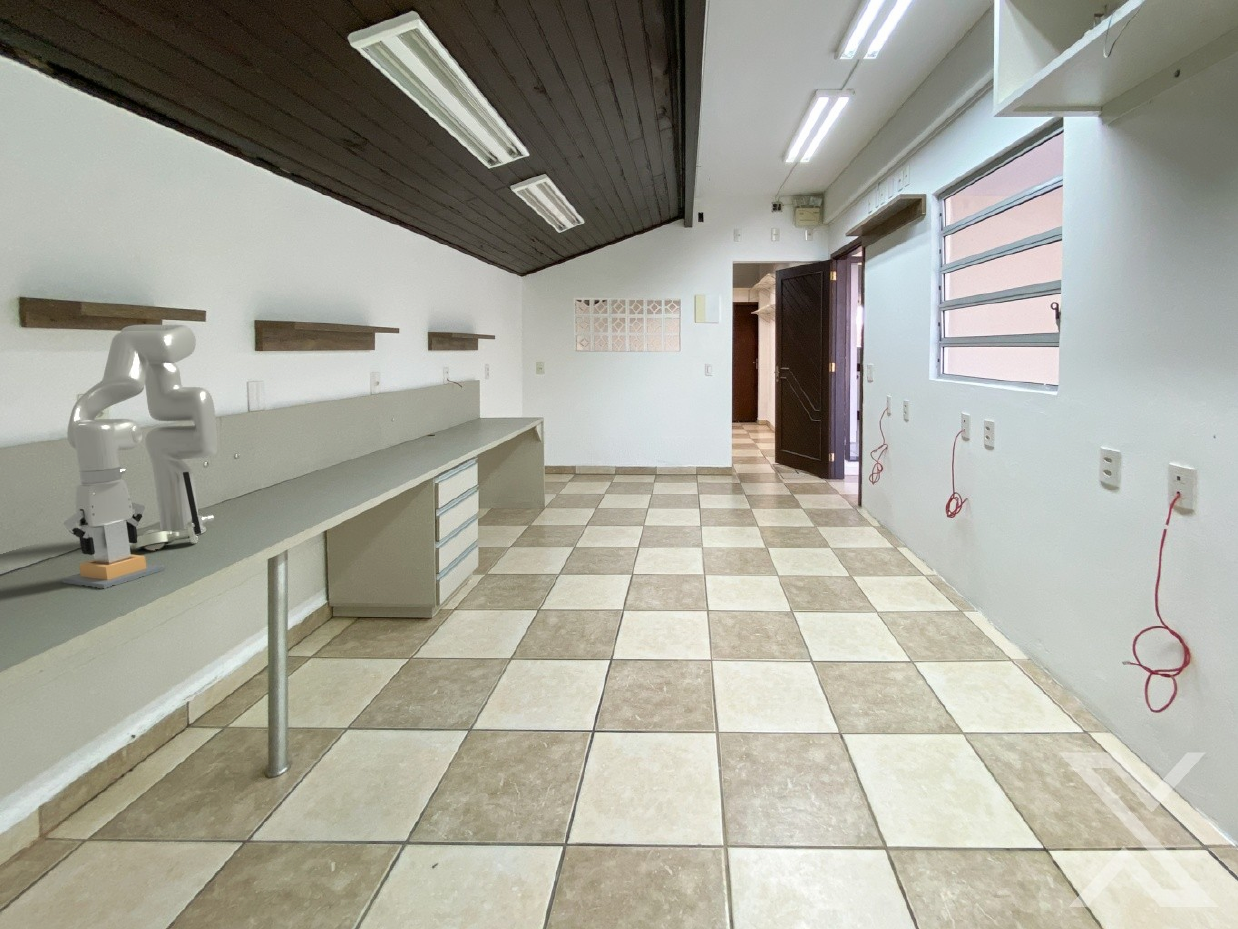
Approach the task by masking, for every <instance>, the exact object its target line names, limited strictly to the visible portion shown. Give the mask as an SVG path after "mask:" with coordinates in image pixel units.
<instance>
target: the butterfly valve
mask: <svg viewBox="0 0 1238 929" xmlns="http://www.w3.org/2000/svg"><path fill="white" fill-rule="evenodd" d="M183 477H184V482H185V487H186V492H187V496H188V501H189V506H190V511H191V516H192V519H191V521H188V522H187V524H186V525H185V527H186V528H188V529H183V530H178V531H173V532H172V531H160V530H161V529H155V528H154V529H150V530H147V531H145V532H144V534H141V535H137V543H129V546H130V550H134V549H135V550H144V549H145V550H148V551H156V550H155V549H158V550H161V549H162V548H163V547H164V546H166V545H170V544H171V543H174V542H175V541H178V540H183V539H187V538H189V539H188V541H189V542H190V543H191V545H194V544H198V543H197V542H198V541H199V537H198V536H199V535H202V534H201V529H200V524H199V519H198V515H199V513H198V514H197V509H196V505H195V500H194V495H193V490H192V485H191V480H190V475H189V472H183ZM197 534H199V535H197Z"/></svg>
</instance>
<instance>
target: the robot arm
mask: <svg viewBox="0 0 1238 929" xmlns="http://www.w3.org/2000/svg"><path fill="white" fill-rule="evenodd" d="M196 341H197V340H196V335H195V333H194V331H193V330H192V329H191V328H190V327H189V326H187V325H183V324H135V325H134V324H133V325H128V326H124V327H123V328H122V329H121V330H120V332H118V333H116V334H115V335H114V336H113V338H112V340H111V343H110V348H109V351H108V355H107V359H106V363H105V364H106V365H105V367H104V368H105V369H104V371H103V375H102V376H103V377H102V379H101V380H100V381H99V382H98V383H96V384H95V385H93V386H92V387H91V388H90V389H88V390H87V391H86V392H84V393H83V395H82V396H80V397H79V398H78V399H77V401H76V402H75V403H74V405H73V407H72V409H71V412H70V416H69V421H68V425H67V432H66V434H67V440H68V443H69V445H70V446H71V447H72V449H74V450H75V452H76V458H77V465H78V471H79V472H78V474H79V479H80V480H79V481H80V484H77V485H76V489H75V502H74V503H75V513H74V514H73V515H71V516H70V517H69V518H67V520H64V522H63V525H64V526H65V528H66V529H67V530H68V531H69V533H71V534H73V535H74V536H76V538H78V539H79V545H80V550H81V551H82V554H83V555H89V556H93V554H94V553H95V549H94V542H93V538H92V537H91V533H92V532H93V530H94V529H95V528H98V527H101V526H103V525H107V524H112V523H116V522H120V521H126V524H127V532H128V539H129V543H137V536H138V531H137V527H138V526H139V524H140V521H141V519H142V518H143V514H144V511H145V508H146V507H145V505H143V504H139V503H135V502H133V501H132V500H131V495H130V492H129V489H128V486H127V483H126V481H125V479H122V474H125V473H126V469H125V467H121V466H120V458H119V452H118V451H128V450H129V451H130V450H132V449H135V448H137V447H138V446H139V445H140V444H141V442H142V441H143V436H144V434H143V433H144V432H143V429H142V427H141V425H140V424H139V423H138V422H136V421H135V420H132V419H129V418H111V419H110V418H105V419H104V418H100V419H96V418H97V416H98V415H99V414H100V413H102V412H103V411H104V410H106V409H108V408H110V407H111V406H114V405H116V404H117V405H118V404H119V403H121V402H124V401H128V400H129V399H132V398H134V397H136V396H138V395H141V393H142V392H143V391H144V390H145V395H146V403H147V409H148V412H149V415H150V417H151V418H152V419H153V420H155V421H159V422H184V421H185V422H187V421H188V422H189V421H191V422H193V423H194V425H165V426H157V427H155V428H152V429H150V430H149V431H148V432H147V433H146V434H145V437H144V438H145V439H144V441H145V442H144V443H145V447H146V450H147V453H148V455H149V459H150V463H151V467H152V468H151V469H152V473H153V479H154V487H155V494H156V503H157V511H158V519H159V527H160V529H159V530H160V531H172V532H173V531H178V530H183V529H188V528H186V527H185V525H186V524H187V522H188V521H191V519H192V516H191V511H190V506H189V501H188V496H187V492H186V487H185V482H184V477H183V472H189V475H190V480H191V485H192V490H193V495H194V500H195V505H196V509H197V514H198V519H199V524H200V529H201V534H197V535H196V536H199V535H202V534H204V533H206V531H207V526H205V524H206V523H210V522H213V521H214V520H215V516H214V515H213V514H208V515H204V516H203V515H199V510H198V500H197V493H196V484H195V476H194V473H193V470H192V469H191V467H190V466H189V465H188V464H187V463H186V462H185V460H186V459H187V460H191V459H193V460H194V459H208V458H211V457H214V456H215V455H216V454H217V452H218V446H219V442H218V441H219V440H218V431H217V430H218V429H217V422H216V419H217V418H216V414H215V412H216V411H215V403H214V400H213V397H212V395H211V393H210V391H208V390H207V389H206V388H203V387H200V386H199V387H198V386H187V387H186V386H184V387H183V385H182V379H181V372H180V368H179V367H178V365H177V364H176V363H178V362H180V361H183V360H184V359H186V358H188V357H189V356H191V355H192V354H193V353H194V351H195V349H196V345H197V342H196ZM133 511H134V512H133ZM78 527H80V528H78Z"/></svg>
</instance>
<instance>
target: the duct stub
mask: <svg viewBox="0 0 1238 929" xmlns="http://www.w3.org/2000/svg"><path fill="white" fill-rule="evenodd" d="M90 537H92V538H93V542H94V549H95V553H94V554H93V555H92V556H93V560H94V563H95V564H102V565H110V564H114V563H117V562H121V561H124V560H128V559H131V549H130V546H129V539H128V532H127V524H126V521H120V522H116V523H112V524H107V525H103V526H101V527H98V528H95V529H94V530H93V532H92V533H91V535H90Z"/></svg>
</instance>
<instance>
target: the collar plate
mask: <svg viewBox="0 0 1238 929" xmlns="http://www.w3.org/2000/svg"><path fill="white" fill-rule="evenodd" d="M130 554H131V553H130ZM78 565H79V566H78V567H79V573H76V574H73V575H70V576H66V577H62V578H61V581H62V583H63V584H69V585H76V586H82V585H85V586H84V587H88V586H92V587H91V588H95V587H97V589H102V588H104V589H108V588H107V587H109V588H111V587H110V586H112V585H115V586H118V585H122V584H124V583H127V581H128V582H131V581H134V580H138V579H140V578H139V577H141V578H143V577H142V576H144V577H147V576H150V575H152V574H156V573H160V572H162V571H165V566H164V565H159V564H152V563H151V564H149V563H147V562H146V556H145V555H140V554H139V555H138V554H131V559H128V560H124V561H121V562H117V563H114V564H110V565H102V564H95V563H94V559H91V560H87V561H84V562H81V563H78ZM159 571H160V572H159ZM112 587H113V586H112ZM104 589H103V590H104Z"/></svg>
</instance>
